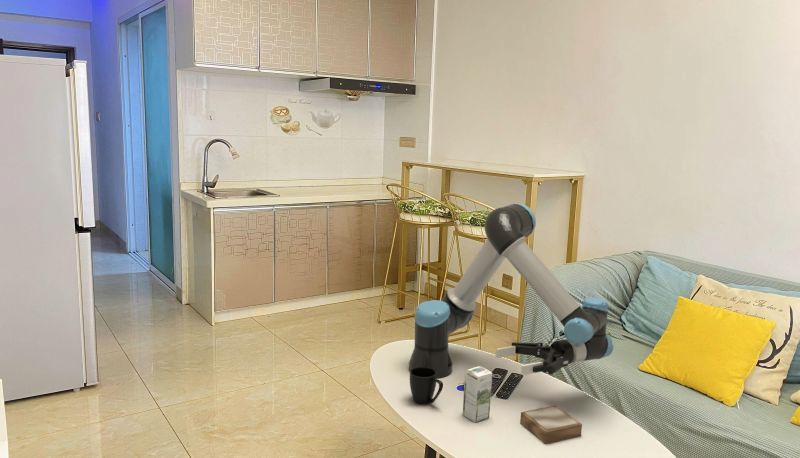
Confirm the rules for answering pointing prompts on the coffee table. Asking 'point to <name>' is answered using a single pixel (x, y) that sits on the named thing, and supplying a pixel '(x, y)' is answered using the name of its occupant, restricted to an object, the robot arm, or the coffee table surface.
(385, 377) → the coffee table surface
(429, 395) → the mug
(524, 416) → the walnut stand
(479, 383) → the syrup box
